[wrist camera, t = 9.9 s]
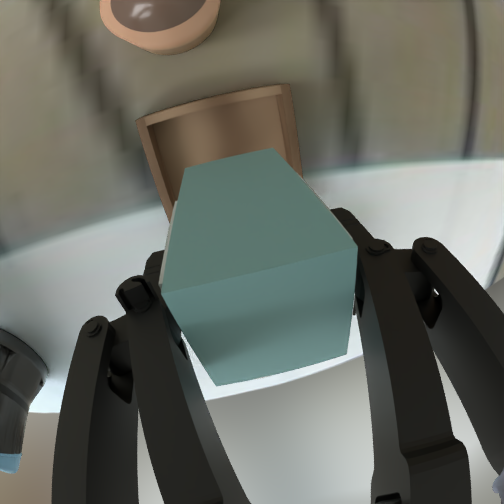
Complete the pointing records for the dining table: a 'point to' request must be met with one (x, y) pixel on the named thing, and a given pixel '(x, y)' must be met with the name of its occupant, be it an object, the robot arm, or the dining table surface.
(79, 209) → the dining table surface
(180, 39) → the terracotta pot
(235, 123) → the walnut box
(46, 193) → the dining table surface
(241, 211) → the teal block
